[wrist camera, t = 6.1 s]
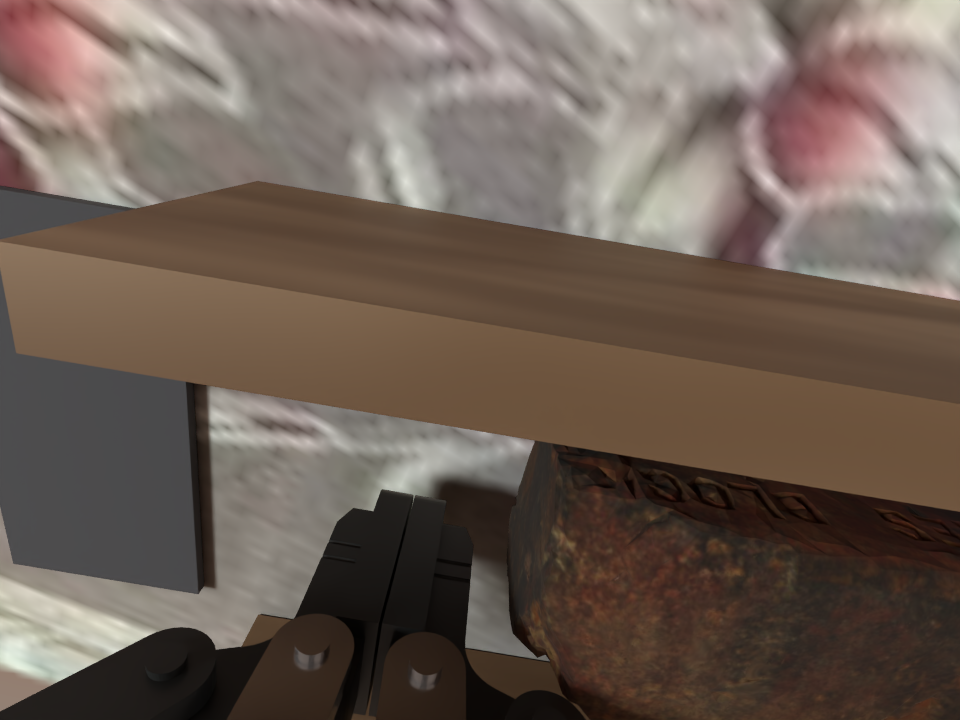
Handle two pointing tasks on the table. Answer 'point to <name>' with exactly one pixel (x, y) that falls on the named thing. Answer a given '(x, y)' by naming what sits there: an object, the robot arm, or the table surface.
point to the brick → (731, 593)
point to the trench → (507, 341)
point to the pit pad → (94, 449)
